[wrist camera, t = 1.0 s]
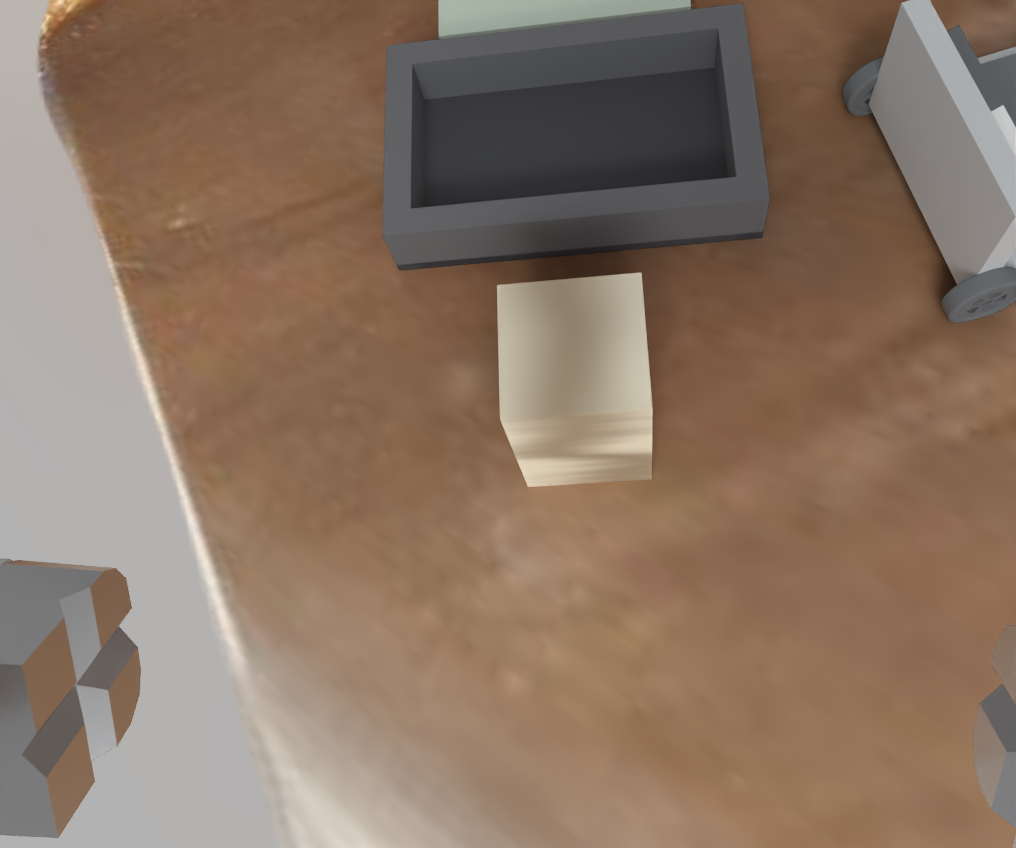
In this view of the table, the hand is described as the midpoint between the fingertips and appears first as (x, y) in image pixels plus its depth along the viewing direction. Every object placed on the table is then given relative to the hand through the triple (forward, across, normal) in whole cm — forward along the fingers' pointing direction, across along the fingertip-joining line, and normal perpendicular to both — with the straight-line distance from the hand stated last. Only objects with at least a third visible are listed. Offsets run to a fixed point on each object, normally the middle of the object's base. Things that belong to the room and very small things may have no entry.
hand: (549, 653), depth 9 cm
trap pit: (+38, 0, +1) cm, 38 cm away
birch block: (+29, -1, +10) cm, 31 cm away
